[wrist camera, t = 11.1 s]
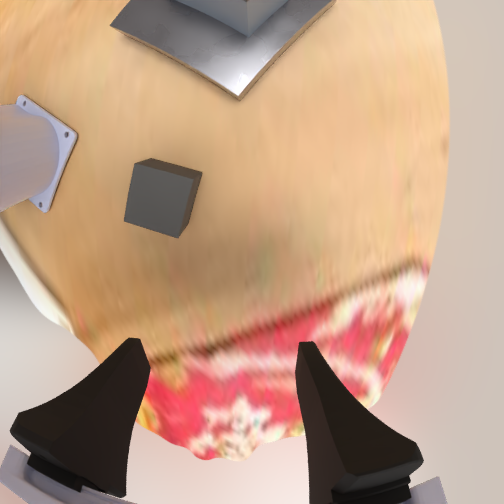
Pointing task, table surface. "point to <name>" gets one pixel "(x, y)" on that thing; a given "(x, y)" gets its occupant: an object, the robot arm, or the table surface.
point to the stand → (217, 38)
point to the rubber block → (161, 196)
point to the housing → (238, 12)
